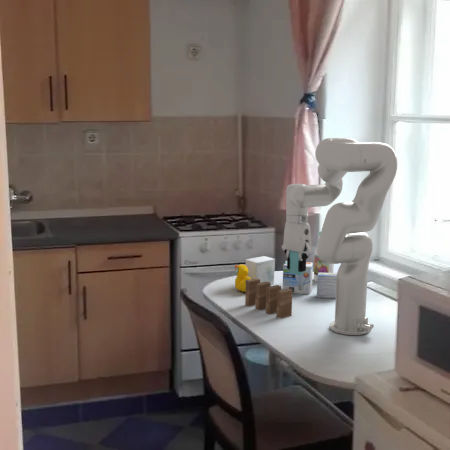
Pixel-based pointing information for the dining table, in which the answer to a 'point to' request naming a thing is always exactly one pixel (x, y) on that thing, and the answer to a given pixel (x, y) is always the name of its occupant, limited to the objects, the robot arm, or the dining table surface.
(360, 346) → the dining table surface
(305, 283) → the light bulb box
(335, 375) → the dining table surface
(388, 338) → the dining table surface
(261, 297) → the tile
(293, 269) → the teal tile
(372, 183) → the robot arm
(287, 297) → the tile
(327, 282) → the medicine box
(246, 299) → the tile
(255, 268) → the skincare box
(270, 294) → the tile
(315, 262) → the milk bottle
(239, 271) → the duckling
